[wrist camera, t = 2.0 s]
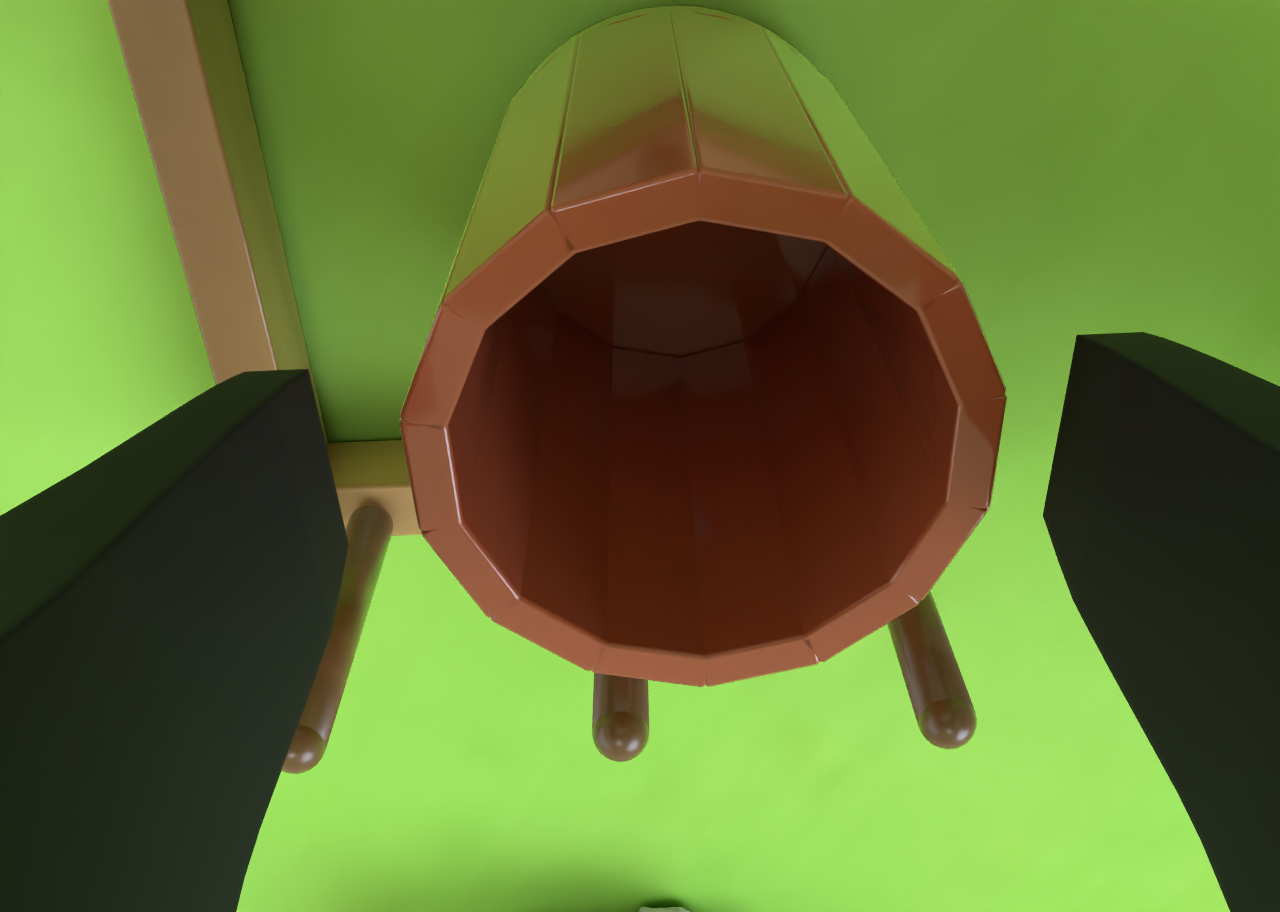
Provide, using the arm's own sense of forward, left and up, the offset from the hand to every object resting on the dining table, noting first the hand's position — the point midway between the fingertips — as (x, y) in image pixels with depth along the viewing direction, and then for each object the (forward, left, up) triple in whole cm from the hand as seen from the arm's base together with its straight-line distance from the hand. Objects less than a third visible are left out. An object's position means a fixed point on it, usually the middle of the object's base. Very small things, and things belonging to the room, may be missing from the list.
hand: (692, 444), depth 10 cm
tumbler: (0, 0, -7) cm, 7 cm away
